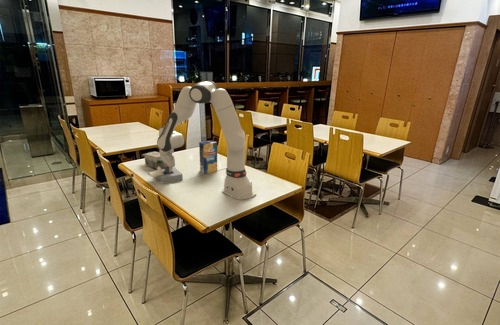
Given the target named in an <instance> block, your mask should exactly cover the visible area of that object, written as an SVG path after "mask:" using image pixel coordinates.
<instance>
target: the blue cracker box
mask: <svg viewBox="0 0 500 325" xmlns="http://www.w3.org/2000/svg"><path fill="white" fill-rule="evenodd" d="M198 146H199V171H200V172H201V173H203V174H205V175H206V174H210V173H214V172H217V171H218V142H217V141H214V140H207V141H200V142H199V143H198Z"/></svg>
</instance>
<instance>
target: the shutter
mask: <svg viewBox="0 0 500 325" xmlns="http://www.w3.org/2000/svg"><path fill="white" fill-rule="evenodd" d="M156 170H158V171H155V170H154V171H149V172H148V174H149V175H150V177H156V176H159V175H163V174H162V169H161V168H160V167H157V169H156Z"/></svg>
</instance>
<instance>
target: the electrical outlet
mask: <svg viewBox="0 0 500 325" xmlns="http://www.w3.org/2000/svg"><path fill="white" fill-rule="evenodd" d="M142 156H144V163H145V166H148V167H149V168H152V169H156V170H158V169H157V167H160V168H161V169H164V163H163V161H162V160H161V158H160V151H159V152H158V151H149V152H147V153H143V154H142Z"/></svg>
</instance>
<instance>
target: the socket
mask: <svg viewBox="0 0 500 325" xmlns="http://www.w3.org/2000/svg"><path fill="white" fill-rule="evenodd" d="M154 171H158V169H156V170H154ZM162 174H163V175H159V176H155V178H157V180H158V181H159V182H160V183H161V184H167V183H173V182H177V181H182V180H183V178H184V177H183V173H181V171H179V170H178V169H177V168H176V166H175V167H173V168H172V174H166V175H165V171H164V169H162Z"/></svg>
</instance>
